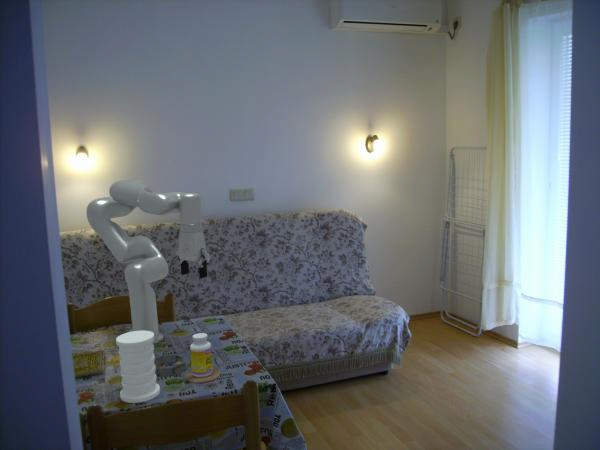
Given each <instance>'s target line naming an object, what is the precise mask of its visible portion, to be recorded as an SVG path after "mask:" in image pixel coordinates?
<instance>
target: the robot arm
mask: <svg viewBox="0 0 600 450" xmlns="http://www.w3.org/2000/svg"><path fill="white" fill-rule="evenodd" d="M108 193H109V196H107V197H105V196H103V197H99V198H96V199H93V200H91V201H90V202H89V203H88V204H87V207H86V219H87V222H88V224H89V226H90V227H91V229H92V230H93V231H94V232H95V233H96V234H97V236H98V237H100V238H101V240H102V241H103V242H104V244H105V245H106V247H107V248H108V249H109V251H110V252H111V254H112V255H113V257H114V258H115V260H117V261H118V262H119V263H121V264H128V265H127V266H126V267H125V269H124V278H125V279H124V280H125V282H126V285H127V289H128V295H129V305H130V316H131V327H132V328H131V329H130V328H129V330H128V332H132V331H151V332H153V333H154V340H153V341H152V343H153V345H155V344H158V343H161V341H163V340H164V335H163V334H162V333H161V332H159V321H158V310H157V300H156V293H155V290H154V289H153V287H152V286H151V283H154V282H157V281H160V280H162V279H164V278H166V277H167V276H168V273H169V269H170V268H169V264H168V262H167V260H166V259H165V257H164V256H163V254H162V253H161V252H160V250H159V249H158V247H157V245H155V243H154V242H153V241H152V239H150V238H149V237H147V236H145V235H136V236H130V235H129V234H127V232H126V231H125V230H124V229H123V227H121V225H120V224H119V223H117V222H115V221H113V220H112V219H116V218H117V219H118V218H124V217H126V216H128V215H130V214H131V213H132V212H133V211H134V210H135V209H136V208H139V210H141V211H142V212H143V213H146V214H150V215H154V216H166V215H167V216H168V215H172V214H179V226H180V232H179V235H178V243H177V244H178V247H177V249H176V250H175V253H176V256H177V260H178V263H179V265H180V274H181V275H182V276H184V275H188V274H190V268H189V266H190V264H189V262H192V263H198V277H199V279H206V278H207V277H208V266H209V264H210V260H211V257H212V255H211V254H210V253H209V252H208V251H207V250H206V249H207V248H206V242H205V241H206V239H205V236H204V235H205V234H204V232H203V218H202V214H203V213H202V201H201V200H202V198H201V194H200V193H197V192H184V191H171V192H163V193H154V192H153V189H152V188H151V186H149V185H147V184H146V183H145V182H144V181H143V180H141V179H138V178H137V179H136V178H135V179H122V180H118V181H116V182H113V183H112V184H111V186H109V191H108Z"/></svg>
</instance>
